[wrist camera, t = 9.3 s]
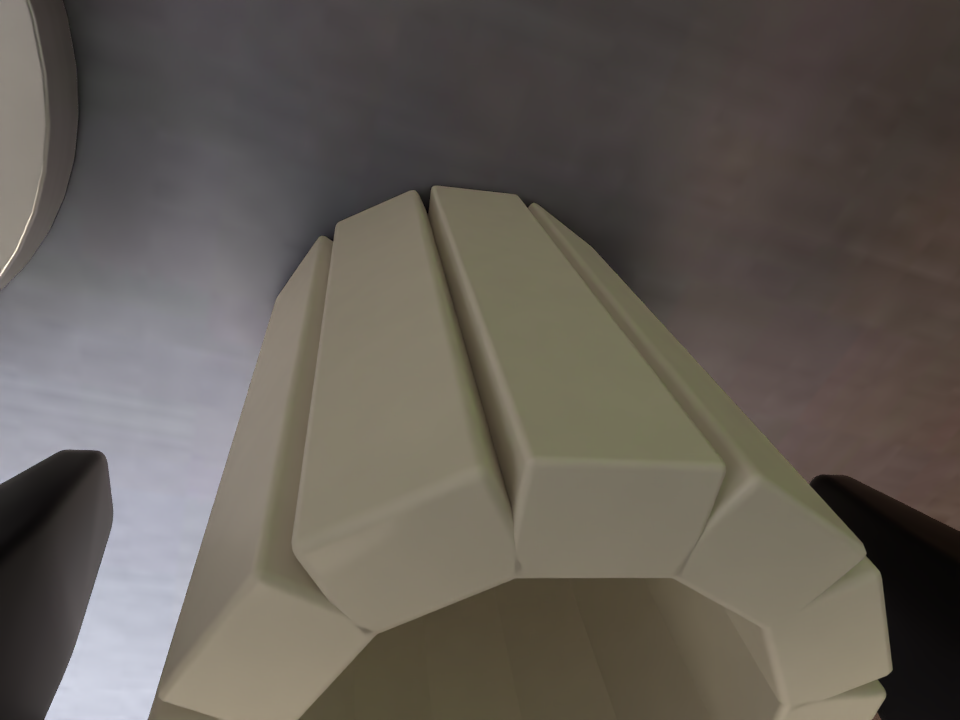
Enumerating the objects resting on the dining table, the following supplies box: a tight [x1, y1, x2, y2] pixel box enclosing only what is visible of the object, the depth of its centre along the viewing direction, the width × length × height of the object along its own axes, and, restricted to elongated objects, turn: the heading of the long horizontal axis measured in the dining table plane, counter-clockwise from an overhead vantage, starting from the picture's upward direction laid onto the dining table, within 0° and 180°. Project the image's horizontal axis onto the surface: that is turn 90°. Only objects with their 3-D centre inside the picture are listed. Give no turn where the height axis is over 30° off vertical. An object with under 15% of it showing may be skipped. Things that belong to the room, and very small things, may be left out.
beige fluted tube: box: [148, 185, 893, 720], centre depth 9 cm, size 6×6×7 cm
